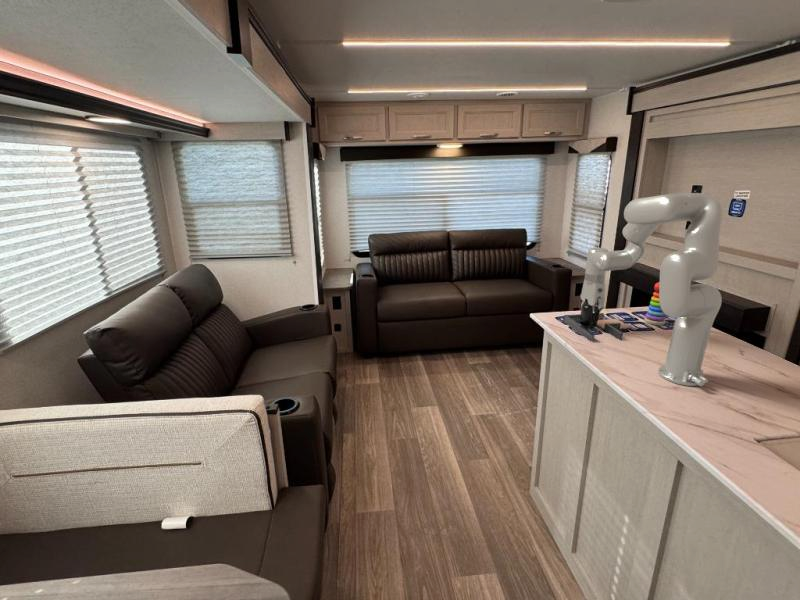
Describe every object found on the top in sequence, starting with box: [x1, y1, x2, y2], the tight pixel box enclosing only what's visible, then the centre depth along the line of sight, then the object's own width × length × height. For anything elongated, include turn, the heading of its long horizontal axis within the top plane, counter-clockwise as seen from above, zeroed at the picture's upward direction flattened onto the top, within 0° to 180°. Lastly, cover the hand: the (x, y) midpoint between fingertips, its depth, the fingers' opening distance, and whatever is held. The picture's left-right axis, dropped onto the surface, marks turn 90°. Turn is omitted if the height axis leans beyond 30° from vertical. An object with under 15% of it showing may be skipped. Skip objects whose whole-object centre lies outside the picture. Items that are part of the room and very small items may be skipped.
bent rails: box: [562, 312, 624, 342], centre depth 172 cm, size 22×18×3 cm
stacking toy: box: [643, 281, 666, 326], centre depth 176 cm, size 8×8×19 cm
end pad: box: [597, 318, 632, 330], centre depth 177 cm, size 10×12×1 cm
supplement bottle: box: [579, 299, 598, 329], centre depth 172 cm, size 7×7×12 cm
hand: (589, 317), depth 173 cm, fingers closed on supplement bottle, 6 cm apart
